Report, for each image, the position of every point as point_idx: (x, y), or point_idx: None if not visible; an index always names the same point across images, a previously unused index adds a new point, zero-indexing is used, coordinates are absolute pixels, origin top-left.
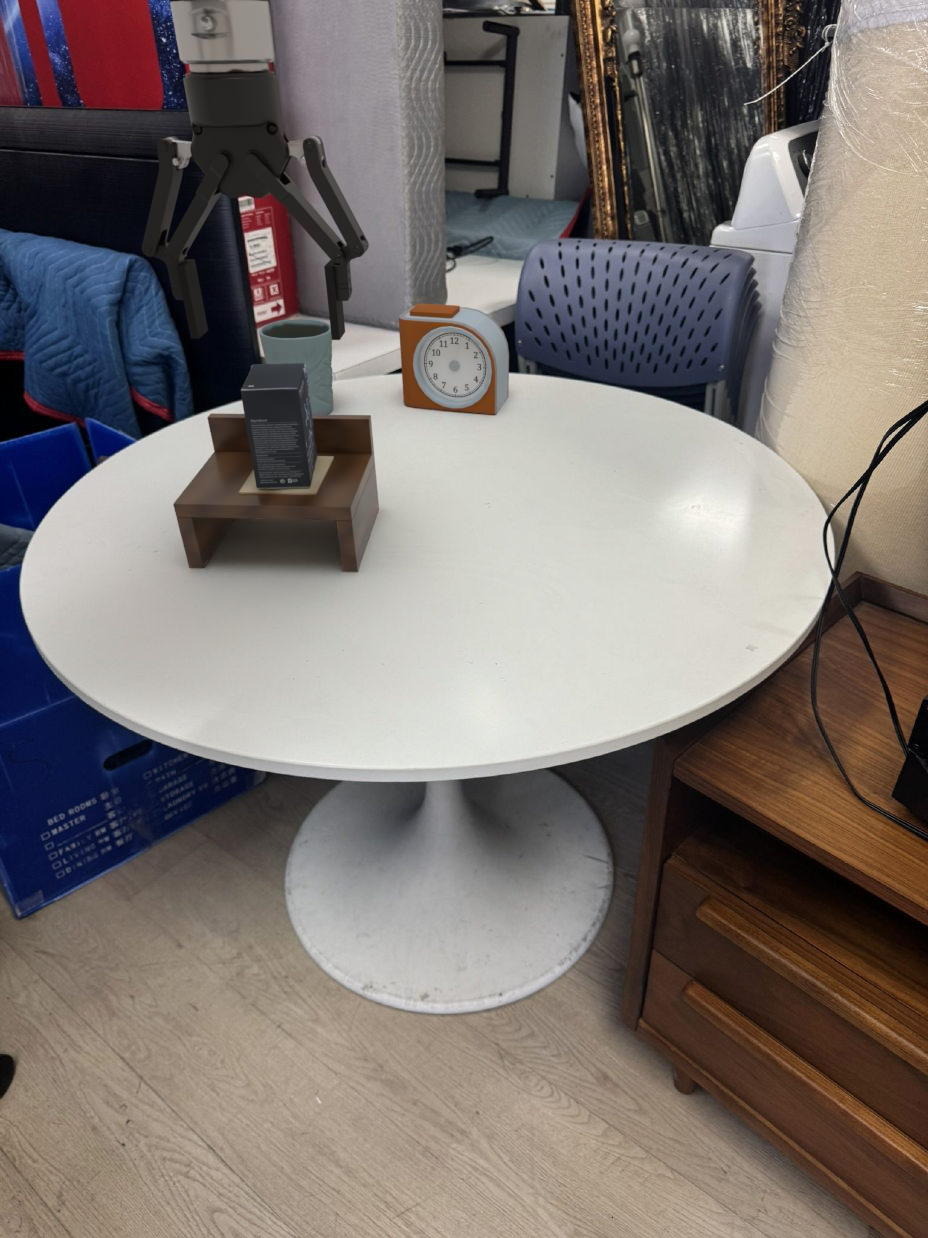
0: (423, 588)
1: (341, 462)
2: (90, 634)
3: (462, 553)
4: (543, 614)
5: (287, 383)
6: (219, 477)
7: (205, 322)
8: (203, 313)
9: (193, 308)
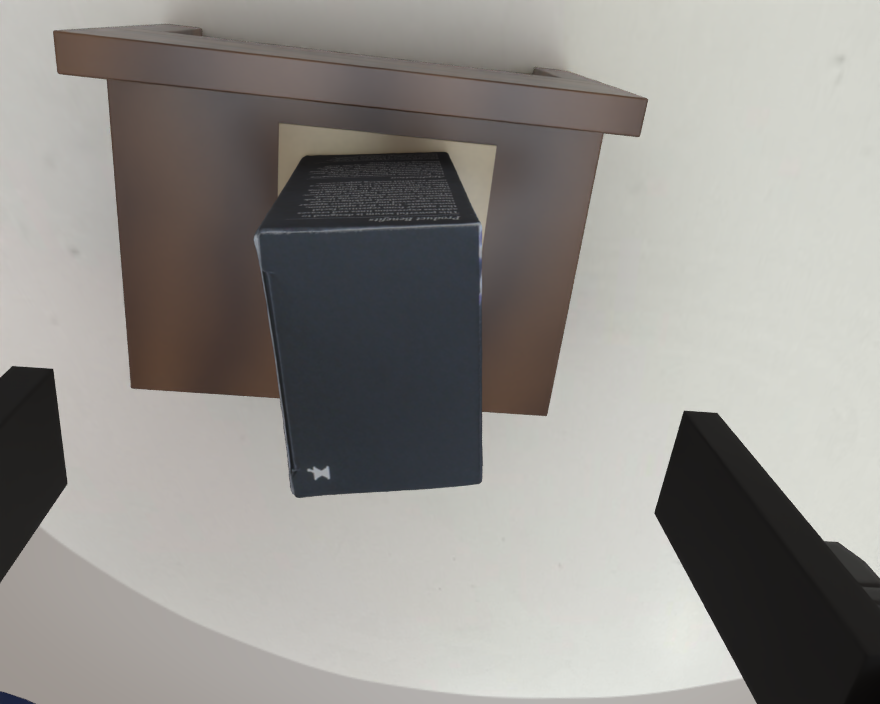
0: (636, 398)
1: (518, 179)
2: (94, 503)
3: (727, 288)
4: (812, 468)
5: (443, 455)
6: (193, 255)
7: (35, 400)
8: (15, 430)
9: (5, 569)
